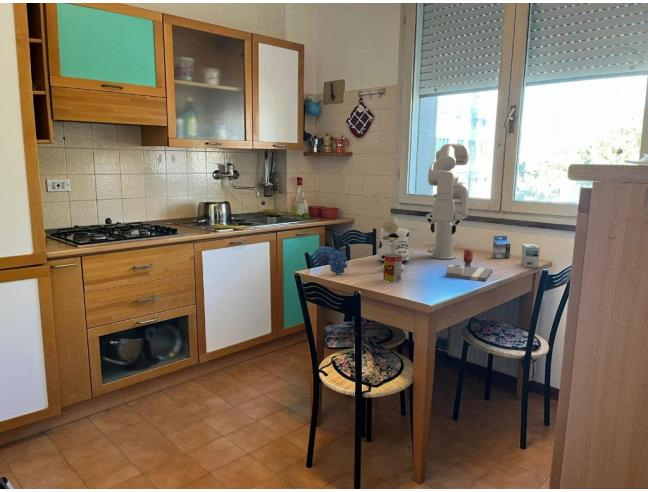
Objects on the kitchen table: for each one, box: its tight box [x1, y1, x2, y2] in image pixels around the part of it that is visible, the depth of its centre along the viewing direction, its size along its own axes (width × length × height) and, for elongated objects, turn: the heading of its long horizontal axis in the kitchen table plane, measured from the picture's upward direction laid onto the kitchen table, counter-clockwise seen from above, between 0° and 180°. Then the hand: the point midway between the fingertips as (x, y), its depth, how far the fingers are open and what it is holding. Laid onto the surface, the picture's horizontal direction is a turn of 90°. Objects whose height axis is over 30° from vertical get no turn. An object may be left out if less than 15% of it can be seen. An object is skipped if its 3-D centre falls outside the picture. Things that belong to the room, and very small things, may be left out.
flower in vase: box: [381, 220, 405, 272], centre depth 233 cm, size 13×11×25 cm
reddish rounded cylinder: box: [463, 248, 474, 267], centre depth 242 cm, size 4×4×9 cm
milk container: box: [377, 226, 411, 264], centre depth 253 cm, size 17×17×18 cm
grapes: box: [328, 250, 348, 275], centre depth 224 cm, size 12×7×12 cm, turn 133°
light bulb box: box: [520, 243, 541, 269], centre depth 246 cm, size 11×7×11 cm, turn 168°
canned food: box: [383, 253, 403, 283], centre depth 214 cm, size 8×8×12 cm
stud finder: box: [446, 264, 465, 274], centre depth 224 cm, size 7×5×3 cm
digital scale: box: [445, 265, 493, 282], centre depth 227 cm, size 18×20×2 cm
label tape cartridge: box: [491, 235, 511, 260], centre depth 265 cm, size 9×4×12 cm, turn 104°
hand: (442, 233), depth 225 cm, fingers open, 9 cm apart
